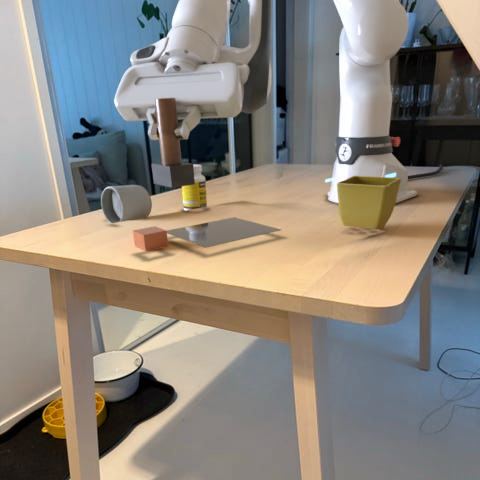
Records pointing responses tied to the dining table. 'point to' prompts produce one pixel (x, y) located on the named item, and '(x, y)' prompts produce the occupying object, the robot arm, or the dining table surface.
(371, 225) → the flower pot
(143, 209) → the ceramic mug
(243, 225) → the polished metal plate
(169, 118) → the mallet with wooden handle
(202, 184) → the supplement bottle
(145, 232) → the terracotta orange cube
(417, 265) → the dining table surface
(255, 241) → the dining table surface
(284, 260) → the dining table surface
